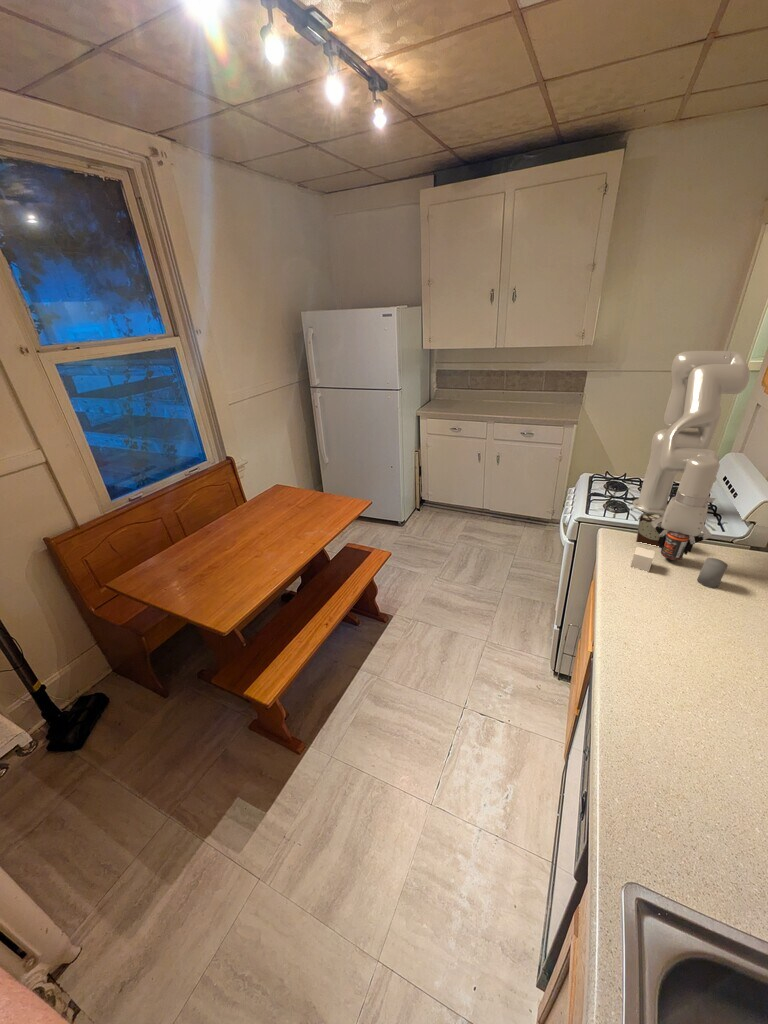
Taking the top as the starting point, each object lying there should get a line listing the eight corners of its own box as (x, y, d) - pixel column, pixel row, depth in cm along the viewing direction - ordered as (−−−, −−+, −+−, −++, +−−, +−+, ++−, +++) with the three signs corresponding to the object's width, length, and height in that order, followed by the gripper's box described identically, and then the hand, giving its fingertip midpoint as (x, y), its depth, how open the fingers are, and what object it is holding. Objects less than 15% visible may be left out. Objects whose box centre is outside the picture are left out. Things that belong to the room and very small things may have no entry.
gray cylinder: (697, 575, 121) (705, 556, 118) (717, 581, 119) (727, 561, 116) (697, 584, 118) (706, 564, 115) (718, 590, 115) (728, 570, 112)
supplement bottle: (655, 553, 130) (665, 523, 125) (667, 548, 132) (677, 518, 127) (674, 563, 125) (685, 531, 120) (686, 557, 127) (697, 526, 122)
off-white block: (632, 559, 130) (636, 546, 128) (650, 564, 127) (655, 551, 125) (630, 567, 127) (634, 553, 124) (648, 572, 124) (652, 558, 122)
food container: (673, 542, 138) (682, 516, 134) (673, 550, 134) (682, 524, 129) (632, 533, 144) (639, 508, 140) (631, 541, 140) (638, 515, 135)
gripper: (728, 500, 117) (707, 552, 125) (658, 487, 126) (643, 536, 135) (727, 510, 112) (706, 563, 120) (655, 496, 121) (639, 546, 130)
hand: (673, 548), depth 127 cm, fingers closed on supplement bottle, 6 cm apart
